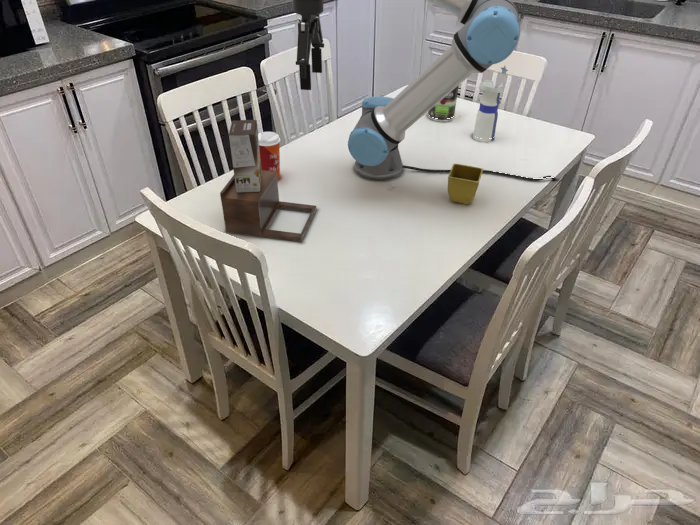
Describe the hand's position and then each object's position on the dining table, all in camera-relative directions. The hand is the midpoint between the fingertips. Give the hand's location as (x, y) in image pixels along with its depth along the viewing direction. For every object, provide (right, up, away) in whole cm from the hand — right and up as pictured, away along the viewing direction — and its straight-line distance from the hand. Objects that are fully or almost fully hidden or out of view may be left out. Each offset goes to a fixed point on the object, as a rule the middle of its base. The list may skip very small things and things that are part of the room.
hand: (311, 80), depth 146 cm
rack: (-11, -38, +2) cm, 40 cm away
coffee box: (-16, -29, -4) cm, 33 cm away
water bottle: (+58, -5, +46) cm, 75 cm away
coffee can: (+46, +6, +60) cm, 76 cm away
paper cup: (-14, -23, +21) cm, 35 cm away
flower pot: (+44, -31, +13) cm, 55 cm away
